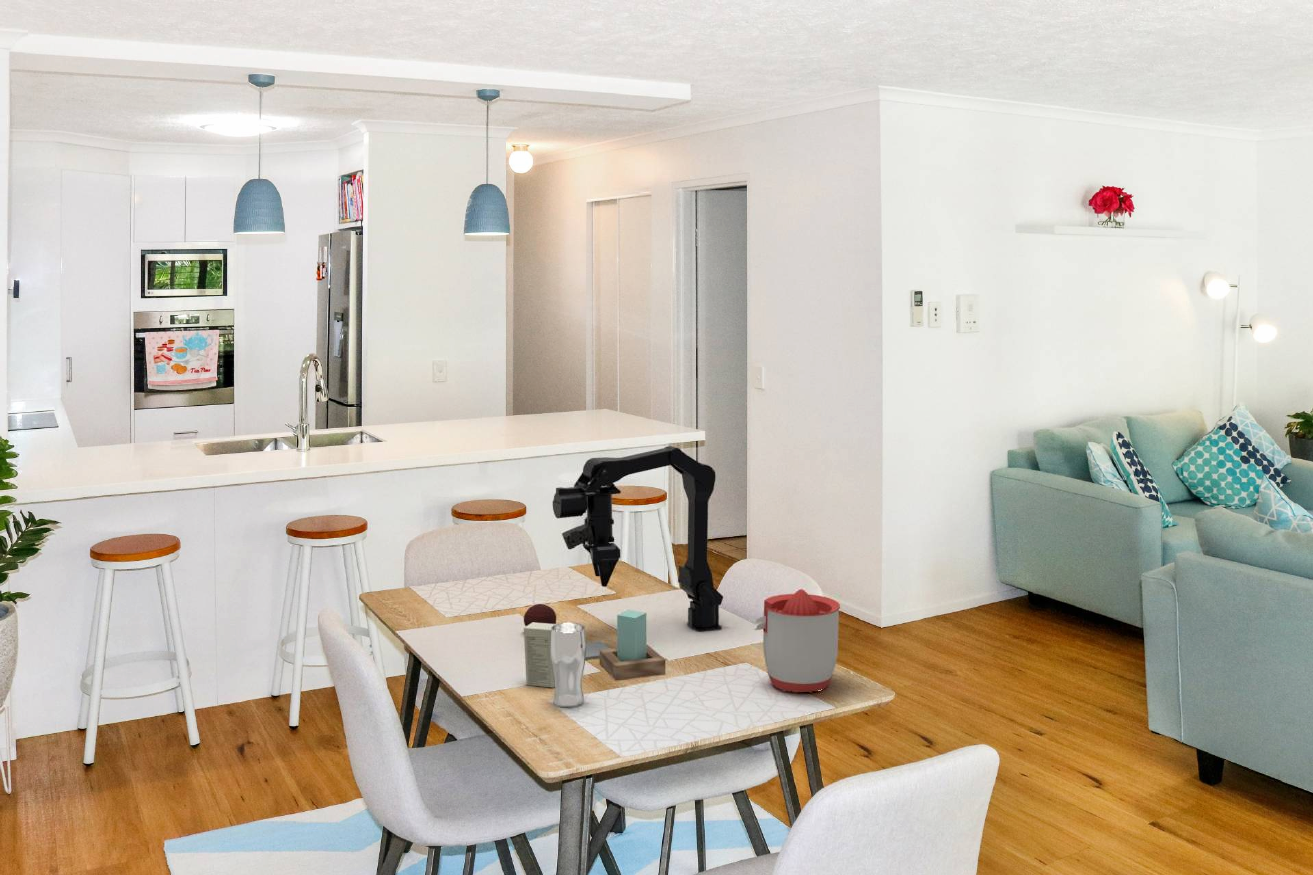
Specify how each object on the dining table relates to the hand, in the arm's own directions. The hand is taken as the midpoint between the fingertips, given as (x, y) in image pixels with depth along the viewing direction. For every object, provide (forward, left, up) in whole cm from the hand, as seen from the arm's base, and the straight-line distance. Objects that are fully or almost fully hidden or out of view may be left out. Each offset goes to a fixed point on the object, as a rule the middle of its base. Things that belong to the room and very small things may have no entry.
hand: (600, 581), depth 252 cm
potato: (+12, -11, -14) cm, 21 cm away
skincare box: (+20, +22, -14) cm, 33 cm away
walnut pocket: (0, +20, -14) cm, 25 cm away
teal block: (0, +20, -14) cm, 25 cm away
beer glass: (+18, +34, -14) cm, 41 cm away
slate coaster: (+6, +6, -14) cm, 16 cm away
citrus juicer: (-28, +41, -14) cm, 52 cm away
